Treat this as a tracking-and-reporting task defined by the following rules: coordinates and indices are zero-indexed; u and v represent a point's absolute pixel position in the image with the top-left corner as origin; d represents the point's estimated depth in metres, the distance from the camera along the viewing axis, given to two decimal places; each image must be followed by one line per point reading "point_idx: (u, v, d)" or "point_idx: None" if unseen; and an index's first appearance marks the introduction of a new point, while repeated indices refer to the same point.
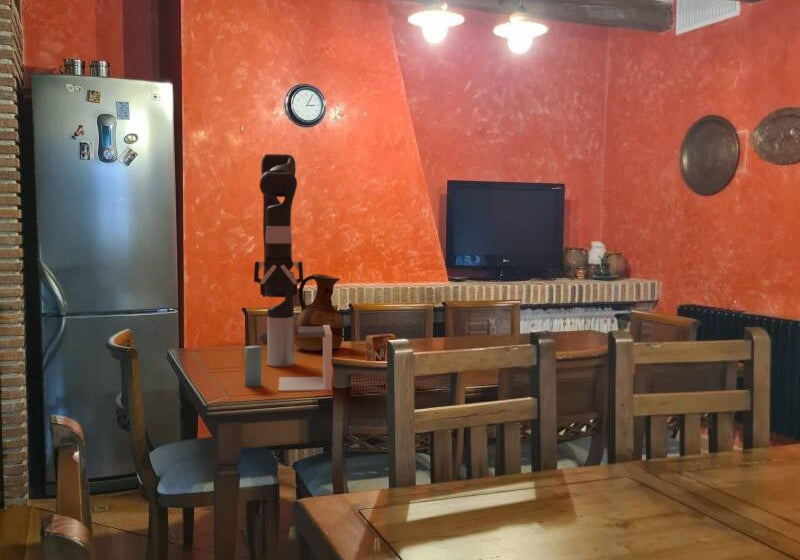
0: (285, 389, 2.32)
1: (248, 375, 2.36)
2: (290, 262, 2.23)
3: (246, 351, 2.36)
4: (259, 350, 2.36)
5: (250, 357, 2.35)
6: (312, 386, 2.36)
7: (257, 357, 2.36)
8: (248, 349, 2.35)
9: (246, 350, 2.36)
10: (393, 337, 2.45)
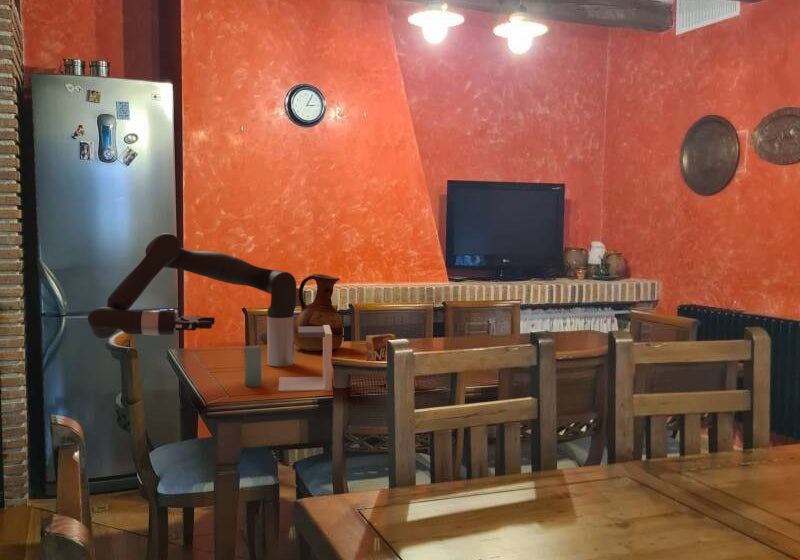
0: (285, 389, 2.32)
1: (248, 375, 2.36)
2: None
3: (246, 351, 2.36)
4: (259, 350, 2.36)
5: (250, 357, 2.35)
6: (312, 386, 2.36)
7: (257, 357, 2.36)
8: (248, 349, 2.35)
9: (246, 350, 2.36)
10: (393, 337, 2.45)
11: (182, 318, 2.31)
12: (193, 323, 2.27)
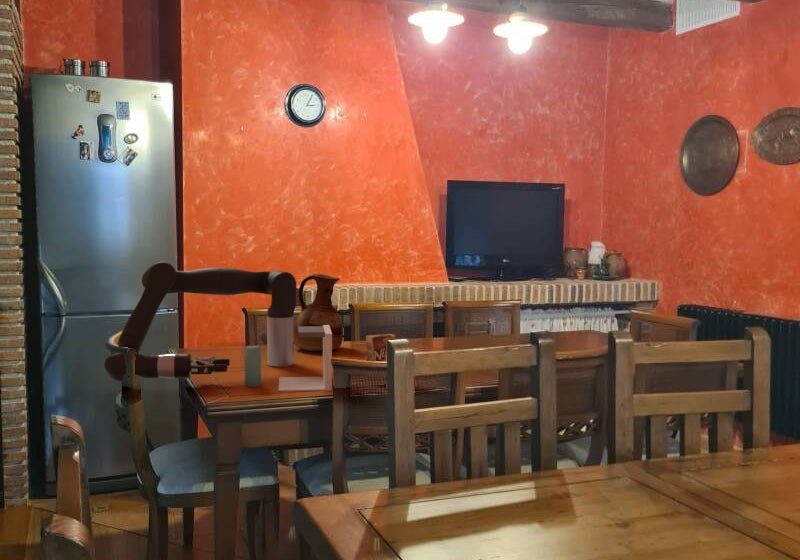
0: (285, 389, 2.32)
1: (249, 375, 2.36)
2: None
3: (246, 351, 2.36)
4: (259, 350, 2.36)
5: (250, 357, 2.35)
6: (312, 386, 2.36)
7: (257, 357, 2.36)
8: (248, 349, 2.35)
9: (246, 350, 2.35)
10: (393, 337, 2.45)
11: (198, 361, 2.33)
12: (209, 367, 2.29)
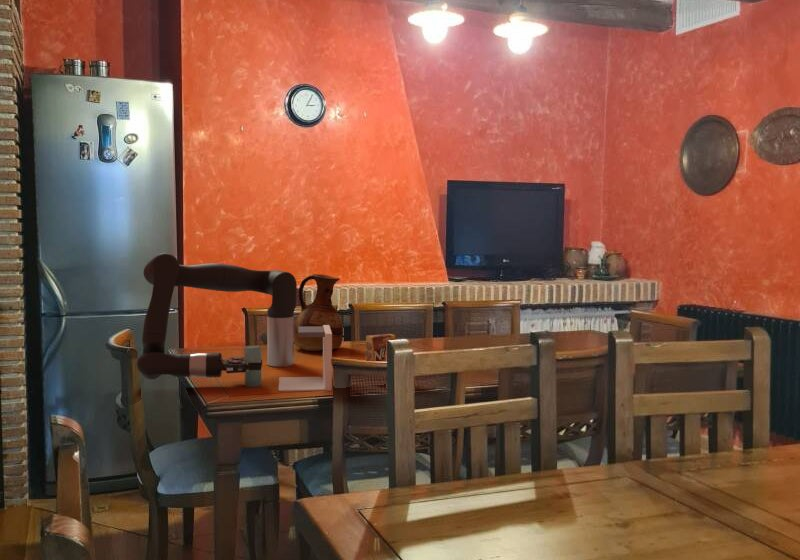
0: (285, 389, 2.32)
1: (249, 375, 2.36)
2: (225, 370, 2.33)
3: (246, 351, 2.36)
4: (259, 350, 2.36)
5: (250, 357, 2.35)
6: (312, 386, 2.36)
7: (257, 357, 2.36)
8: (248, 349, 2.35)
9: (246, 350, 2.36)
10: (393, 337, 2.45)
11: (230, 360, 2.35)
12: (244, 365, 2.32)
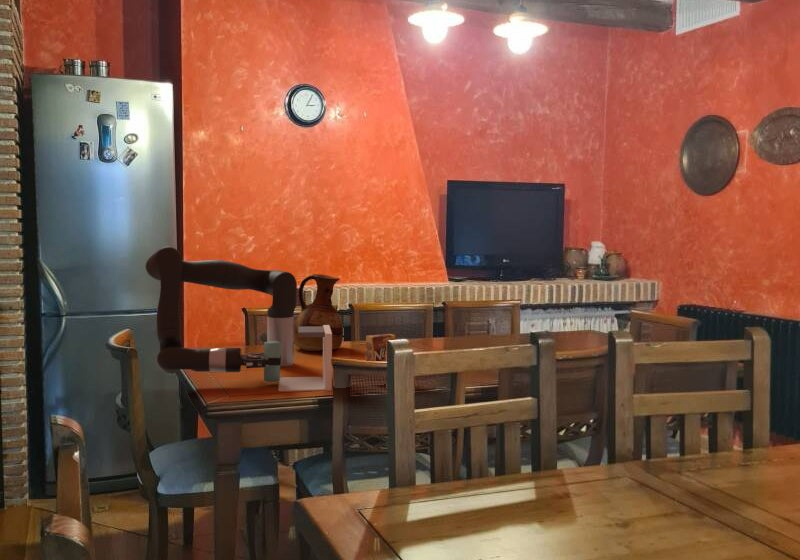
0: (285, 389, 2.32)
1: (268, 370, 2.36)
2: (244, 365, 2.34)
3: (265, 346, 2.36)
4: (278, 345, 2.37)
5: (269, 352, 2.36)
6: (312, 386, 2.36)
7: (276, 352, 2.36)
8: (267, 344, 2.36)
9: (265, 345, 2.36)
10: (393, 337, 2.45)
11: (249, 356, 2.35)
12: (264, 360, 2.33)
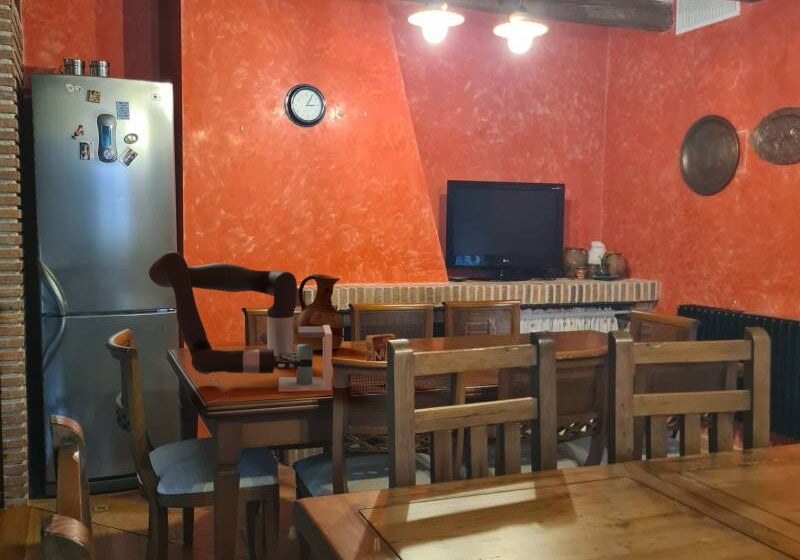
0: (285, 389, 2.32)
1: (301, 373, 2.38)
2: (278, 366, 2.35)
3: (298, 349, 2.38)
4: (311, 348, 2.39)
5: (302, 355, 2.37)
6: (312, 386, 2.36)
7: (309, 355, 2.38)
8: (300, 347, 2.37)
9: (298, 348, 2.38)
10: (393, 337, 2.45)
11: (282, 357, 2.37)
12: (296, 362, 2.33)
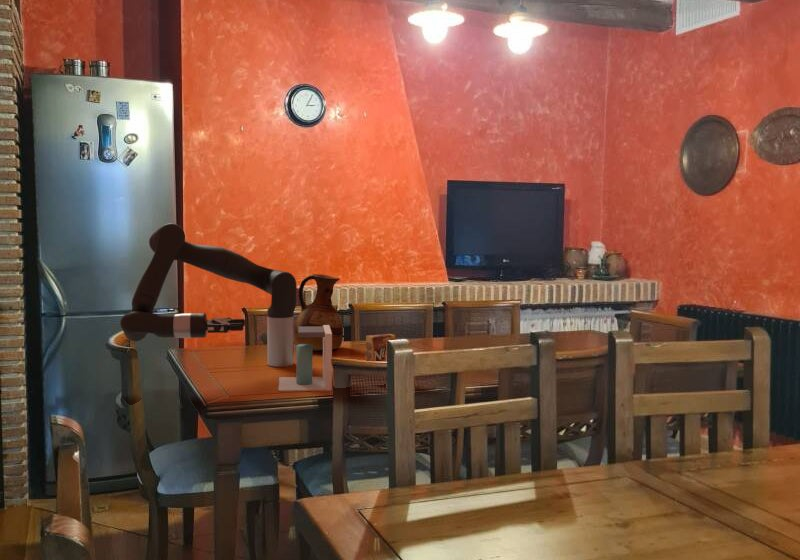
0: (285, 389, 2.32)
1: (300, 373, 2.38)
2: None
3: (298, 349, 2.38)
4: (311, 348, 2.39)
5: (302, 355, 2.37)
6: (312, 386, 2.36)
7: (309, 355, 2.38)
8: (300, 347, 2.37)
9: (298, 348, 2.38)
10: (393, 337, 2.45)
11: (213, 320, 2.33)
12: (225, 325, 2.28)
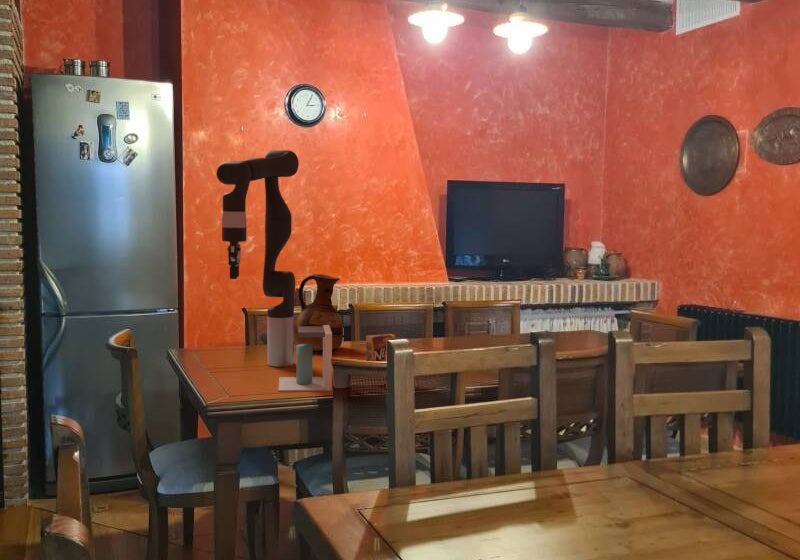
0: (285, 389, 2.32)
1: (300, 373, 2.38)
2: (229, 246, 2.36)
3: (298, 349, 2.38)
4: (311, 348, 2.38)
5: (302, 355, 2.37)
6: (312, 386, 2.36)
7: (309, 355, 2.38)
8: (300, 347, 2.37)
9: (298, 348, 2.38)
10: (393, 337, 2.45)
11: (239, 249, 2.38)
12: (235, 263, 2.33)
